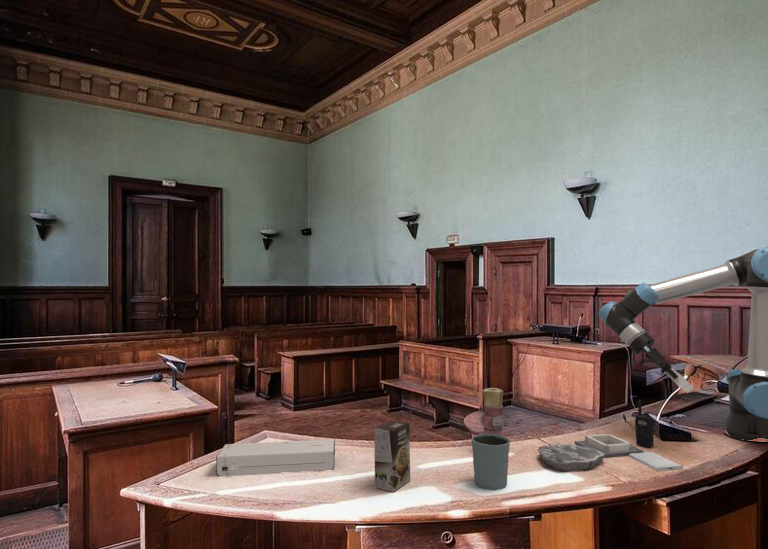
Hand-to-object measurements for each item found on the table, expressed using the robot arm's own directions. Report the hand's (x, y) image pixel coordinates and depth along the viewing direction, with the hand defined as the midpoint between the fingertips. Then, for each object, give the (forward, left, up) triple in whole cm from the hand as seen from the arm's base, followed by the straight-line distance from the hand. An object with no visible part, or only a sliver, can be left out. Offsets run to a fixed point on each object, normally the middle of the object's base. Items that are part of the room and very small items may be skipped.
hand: (688, 388), depth 155 cm
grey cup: (+71, +9, -20) cm, 75 cm away
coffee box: (+97, +3, -20) cm, 99 cm away
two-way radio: (+9, -8, -20) cm, 24 cm away
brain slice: (+42, -1, -20) cm, 47 cm away
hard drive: (+18, +6, -21) cm, 28 cm away
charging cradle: (+23, -8, -20) cm, 32 cm away
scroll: (+60, -15, -20) cm, 66 cm away
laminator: (+128, -19, -20) cm, 131 cm away
